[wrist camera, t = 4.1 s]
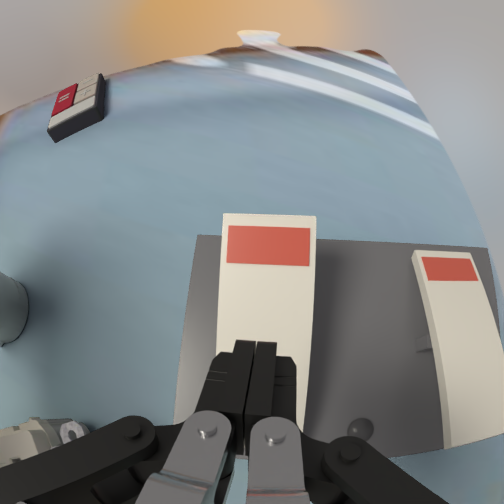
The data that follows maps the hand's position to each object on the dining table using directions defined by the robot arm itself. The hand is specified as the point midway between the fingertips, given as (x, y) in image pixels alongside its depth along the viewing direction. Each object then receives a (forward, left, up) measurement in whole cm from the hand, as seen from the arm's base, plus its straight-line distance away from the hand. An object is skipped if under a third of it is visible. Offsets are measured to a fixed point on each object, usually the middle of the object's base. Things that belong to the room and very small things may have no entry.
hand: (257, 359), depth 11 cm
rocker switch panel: (+6, -4, -20) cm, 21 cm away
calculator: (+10, +58, -20) cm, 62 cm away
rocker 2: (+11, -10, -8) cm, 17 cm away
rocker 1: (+1, +1, -8) cm, 9 cm away
